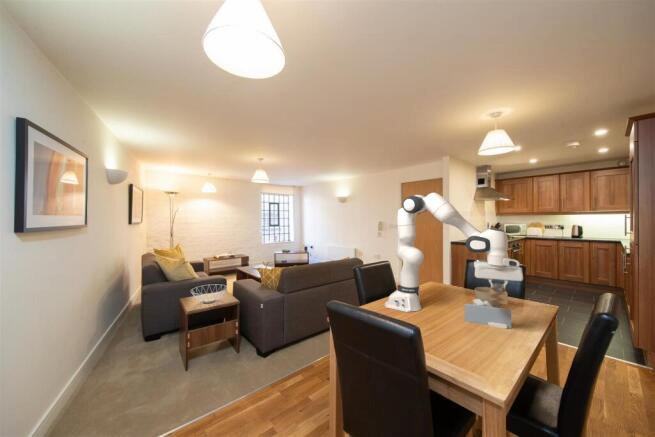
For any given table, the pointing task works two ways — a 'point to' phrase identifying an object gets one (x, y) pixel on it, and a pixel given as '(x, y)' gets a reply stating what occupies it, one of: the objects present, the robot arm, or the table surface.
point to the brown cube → (498, 294)
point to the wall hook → (481, 303)
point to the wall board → (488, 316)
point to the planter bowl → (485, 295)
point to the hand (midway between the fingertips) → (498, 288)
